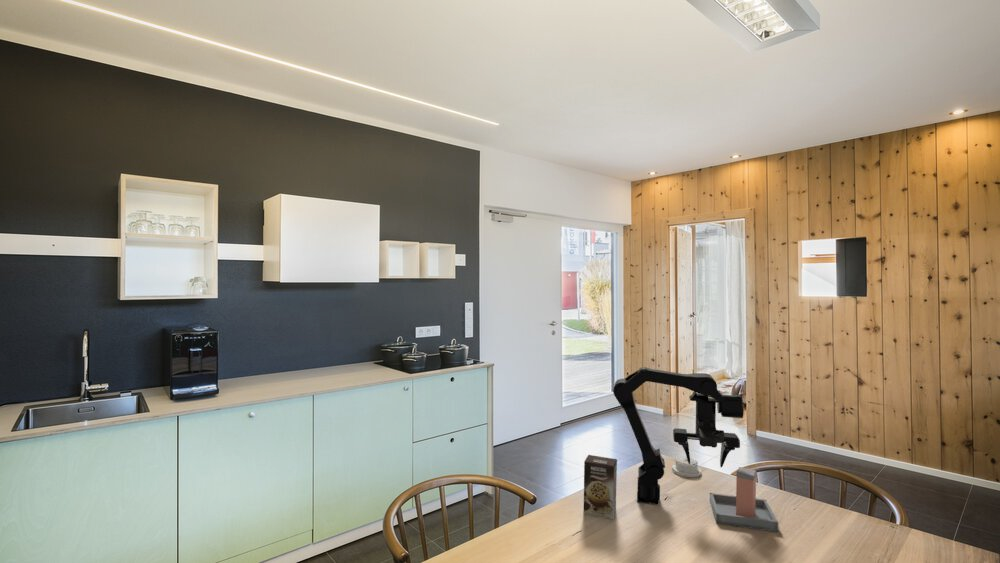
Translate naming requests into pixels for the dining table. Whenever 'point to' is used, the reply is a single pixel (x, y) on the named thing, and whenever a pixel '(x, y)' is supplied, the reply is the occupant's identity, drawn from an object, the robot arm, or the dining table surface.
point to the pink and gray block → (746, 492)
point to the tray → (727, 516)
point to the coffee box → (600, 486)
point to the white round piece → (686, 467)
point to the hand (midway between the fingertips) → (705, 465)
